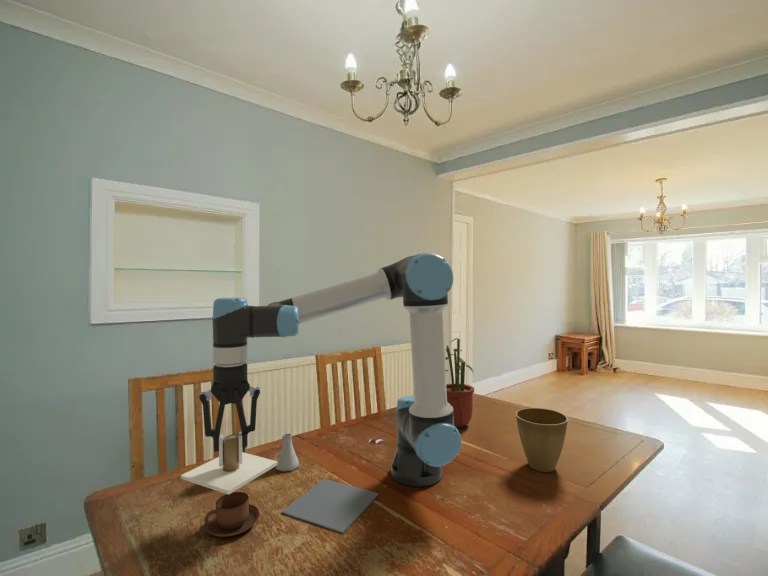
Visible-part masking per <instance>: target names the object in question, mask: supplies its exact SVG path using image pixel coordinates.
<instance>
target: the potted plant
mask: <svg viewBox="0 0 768 576" xmlns="http://www.w3.org/2000/svg"><path fill="white" fill-rule="evenodd" d="M456 340H457V341H456ZM454 341H456V348H453V349H452V351H453V353H451V351H450V347H449V345H447V346H446V350H445V351H446V353H447V357H446V356H445V361H447V360H448V364H449V369H445V372H448V371H450V378H451V379H450V381H451V383H446V391H447V402H448V403H449V404H450V405H451V406H452V407H453V413H454V426H455V427H456V428H463V427H464V428H465V427H466V426H467V425H468V424H469V423H470V422H471V420H472V417H473V409H474V408H473V406H474V403H473V401H474V400H473V399H474V393H475V387H474V386H472V385H470V384H465V381H466V379H465V377H466V376H465V375H466V368H468V369H470V371H471V373H472V374H474V369H473V367H472V366H470V365H469V364H467V363H466V361H464V359H463V358H461V357H460V352H462V351H463V349H461V348H460V347H461V346H460V345H461V342H460V341H461V339H460V338H458V337H455V338H454V339H452V340H451V341H450V343H449V344H451V343H452V342H454ZM452 356H453V359H454V361H453V360H452ZM453 362H454V369H453Z"/></svg>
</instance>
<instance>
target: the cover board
mask: <svg viewBox="0 0 768 576" xmlns="http://www.w3.org/2000/svg"><path fill="white" fill-rule="evenodd" d="M226 436H227V437H226ZM226 436H225V437H223V466H222V467H219V456H218V457H216V458H213V459H211V460H209V461H206V462H205V463H203V464H202V465H199V466H197V467H195V468H193V469H191V470H189V471H187V472H185V473H183V474H180V479H181V480H184V481H187V482H190V483H193V484H195V485H198V486H202V487H204V488H208V489H211V490H214V491H216V492H220V493H223V494H224V495H225V494H228V495H229V494H231V493H232V492H236V491H237V490H239V489H240V488H242V487H243V486H245V485H247V484H249V483H250V482H253V480H255V479H257V478H258V477H261V475H263V474H265V473H267V472H268V471H270V470H272V469H273V468H276V465H278V460H274V459H269V458H267V457H262V456H259V455H255V454H252V453H251V454H250V453H247V452H246V453H244V452H242V458H243V459H242V464H239V437H238V436H228V435H226Z"/></svg>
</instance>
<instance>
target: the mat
mask: <svg viewBox="0 0 768 576" xmlns="http://www.w3.org/2000/svg"><path fill="white" fill-rule="evenodd" d="M379 495H380V493H379V492H375V491H373V490H372V491H371V490H368V489H365V488H364V489H363V488H359V487H357V486H353V485H349V484H345V483H341V482H337V481H333V480H330V479H326V478H323V479H321V480H320V481H319V482H317V483H316V484H315V485H314V486H313V487H311V488H310V489H309V490H307V491H306V492H305V493H304V494H302V495H301V496H299V497H298V498H297V499H296V500H294V501H293V502H292V503H291V504H290V505H288V506H286V508H284V509H283V510H282V511H281V514H283V515H285V516H289V517H292V518H295V519H298V520H301V521H304V522H307V523H310V524H313V525H316V526H319V527H322V528H325V529H328V530H330V531H334V532H337V533H339V534H344V533H345V532H346V531H347V530H348V529H349V528H350V526H351V525H352V524H353V523H354V522H355V521H356V520H357V519H358V518H359V517H360V516H361V515H362V514H363V513H364V512H365V511H366V510H367V508H368V507H369V506H370V505H371V504H372V503H373V502H374V501H375V500H376V498H377V497H379Z"/></svg>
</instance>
